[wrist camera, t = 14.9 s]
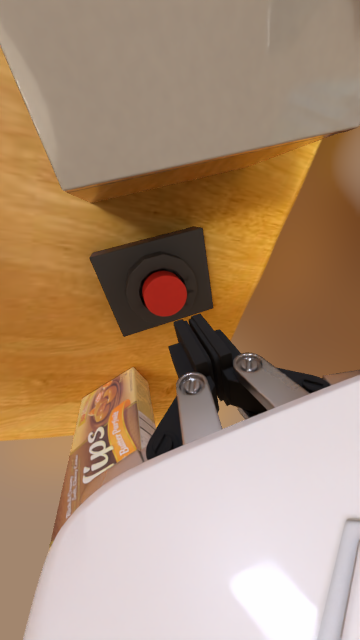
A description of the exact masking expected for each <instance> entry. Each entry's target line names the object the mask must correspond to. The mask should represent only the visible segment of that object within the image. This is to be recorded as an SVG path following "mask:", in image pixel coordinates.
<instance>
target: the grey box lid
mask: <svg viewBox="0 0 360 640" xmlns="http://www.w3.org/2000/svg"><path fill="white" fill-rule="evenodd" d="M0 46H1V49H2V51H3V53H4V56H5V58H6V60H7V63H8V65H9V67H10V70H11V72H12V74H13V77H14V79H15V81H16V84H17V86H18V88H19V91H20V93H21V95H22V98H23V100H24V102H25V104H26V107H27V109H28V111H29V114H30V116H31V118H32V121H33V123H34V125H35V128H36V130H37V132H38V135H39V137H40V139H41V142H42V144H43V146H44V149H45V151H46V153H47V156H48V158H49V160H50V163H51V165H52V167H53V170H54V172H55V174H56V177H57V179H58V181H59V184H60V186H61V188H62V190H63V191H65V192H71V191H76V190H81V189H85V188H90V187H94V186H99V185H104V184H108V183H113V182H117V181H122V180H126V179H131V178H136V177H140V176H145V175H149V174H154V173H158V172H163V171H168V170H172V169H177V168H181V167H186V166H190V165H195V164H200V163H204V162H209V161H213V160H218V159H223V158H227V157H232V156H236V155H241V154H245V153H250V152H255V151H259V150H264V149H268V148H273V147H277V146H282V145H287V144H291V143H296V142H300V141H305V140H309V139H314V138H319V137H323V136H328V135H332V134H337V133H341V132H346V131H349V130H352V129H354V128H357V127H358V126H359V125H360V0H0Z"/></svg>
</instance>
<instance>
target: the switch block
mask: <svg viewBox="0 0 360 640" xmlns="http://www.w3.org/2000/svg"><path fill="white" fill-rule="evenodd" d="M90 260H91V263H92V265H93V267H94V270H95V272H96V274H97V277H98V279H99V281H100V283H101V286H102V288H103V290H104V293H105V295H106V297H107V300H108V302H109V304H110V306H111V309H112V311H113V313H114V316H115V318H116V320H117V323H118V325H119V327H120V330H121V332H122V334H123V336H124V337H125V336H128V335H131V334H134V333H137V332H140V331H143V330H147V329H150V328H153V327H156V326H159V325H162V324H165V323H168V322H172V321H175V320H178V319H181V318H184V317H187V316H190V315H193V314H196V313H200V312H203V311H206V310H209V309H212V308H213V302H212V294H211V287H210V280H209V272H208V265H207V257H206V250H205V243H204V235H203V228H200V227H194V226H193V227H189V228H186V229H182V230H178V231H174V232H170V233H167V234H163V235H159V236H155V237H151V238H147V239H144V240H140V241H136V242H132V243H128V244H124V245H121V246H117V247H113V248H109V249H105V250H101V251H98V252H94V253H92V255H91V256H90ZM158 271H169V272H171V273H173V274H175V275H176V276H177V277H178V278H179V279H180V280H181V281H182V282H183V284H184V285H185V287H186V290H187V299H186V302H185V304H184V306H183V307H182V309H181V310H180V311H178V312H177V313H175V314H173V315H171V316H158V315H155V314H153V313H152V312H151V311H150V310H149V309H148V308H147V307H146V304H145V301H144V298H143V294H142V288H143V284H144V282H145V281H146V279H147V278H148V277H149V276H150V275H151V274H153V273H155V272H158Z"/></svg>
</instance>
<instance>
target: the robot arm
mask: <svg viewBox="0 0 360 640" xmlns="http://www.w3.org/2000/svg"><path fill="white" fill-rule="evenodd" d="M189 325H190V326H189ZM174 327H175V331H176V335H177V338H178V342H179V343H177V344H174V345H171V346H168V347H169V351H170V354H171V357H172V361H173V364H174V367H175V370H176V372H177V375H178V378H179V379H178V381H177V383H176V392H177V396H176V398H175V399H174V401H173V403H172V404H171V406H170V407H169V409H168V411H167V412H166V414H165V415H164V417H163V419H162V420H161V422H160V423H159V425H158V427H157V428H156V430H155V431H154V433H153V435H152V436H151V438H150V440H149V442H148V444H147V446H146V447H144V448H143V449H141V450H139V449H137V450H135V451H134V452H132V453H131V454H129V455H128V456H126V457H125V458H123V459H122V460H120V461H119V462H117V463H116V464H114V465H113V466H111V467H110V468H108V469H107V470H105V471H104V472H102V473H101V474H99V475H98V476H96V477H95V478H94V479H92V480H91V481H90V482H89V483H88V484H87V486H86V487H85V489H84V490H83V492H82V495H81V497H80V502H79V507H78V508H77V509H76V510H75V511H74V513H73V514H72V515H71V516H70V517H69V518H68V519H67V521H66V522H65V523H64V525H63V526H62V527H61V529H60V531H59V532H58V534H57V535H56V537H55V539H54V541H53V543H52V545H51V548H50V550H49V553H48V555H47V558H46V561H45V563H44V566H43V569H42V572H41V576H40V579H39V582H38V585H37V589H36V593H35V596H34V600H33V603H32V607H31V611H30V615H29V619H28V622H27V626H26V630H25V634H24V638H23V640H360V370H356V371H350V372H343V373H336V374H330V375H323V378H320V377H317V376H313V375H309V374H304V373H299V372H294V371H290V370H285V369H280V368H276V367H274V366H273V365H272V364H270V363H269V362H268V361H266V360H265V359H263V358H262V357H261V356H259V355H257V354H254V353H242V354H241V353H240V352H239V351H238V350H237V348H236V347H235V346H234V345H233V344H232V343H231V341H230V340H229V339H228V338H227V337H226V336H225V335H224V333H223V332H222V331H221V330H216V331H214V330H213V329H212V328H211V326H210V325H209V324H208V323H207V321H206V320H205V319H204V318H203V317H202V315H201V314H197V315H194V316H191V319H189V324H188V322H187V321H183V320H178V321H175V322H174ZM217 396H218V398H219V400H220V401H222V400H224V402H225V403H226V405H227V406H228V405H230V404H231V405H233V406H236V407H237V408H238V411H239V412H240V414H241V415H242V416H243V417H244V418H245V420H244V421H241V422H239V423H236V424H234V425H231V426H229V427H226V428H224V429H222V426H221V423H220V420H219V416H218V411H219V406H218V399H217Z"/></svg>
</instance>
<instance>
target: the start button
mask: <svg viewBox="0 0 360 640" xmlns="http://www.w3.org/2000/svg"><path fill="white" fill-rule="evenodd" d="M142 294H143V298H144V301H145V304H146V307H147V308H148V309H149V310H150V311H151V312H152V313H153V314H155V315H158V316H171V315H173V314H175V313H177V312H178V311H180V310H181V309H182V307H183V306H184V304H185V302H186V299H187V290H186V287H185V285H184V284H183V282H182V281H181V280H180V279H179V278H178V277H177V276H176V275H175V274H173V273H171V272H169V271H158V272H155V273H153V274H151V275H150V276H149V277H148V278H147V279H146V281H145V282H144V284H143V288H142Z"/></svg>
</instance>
